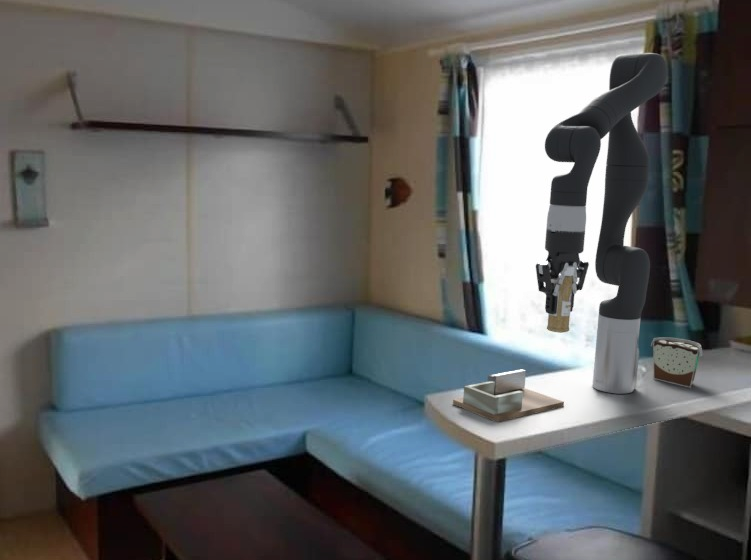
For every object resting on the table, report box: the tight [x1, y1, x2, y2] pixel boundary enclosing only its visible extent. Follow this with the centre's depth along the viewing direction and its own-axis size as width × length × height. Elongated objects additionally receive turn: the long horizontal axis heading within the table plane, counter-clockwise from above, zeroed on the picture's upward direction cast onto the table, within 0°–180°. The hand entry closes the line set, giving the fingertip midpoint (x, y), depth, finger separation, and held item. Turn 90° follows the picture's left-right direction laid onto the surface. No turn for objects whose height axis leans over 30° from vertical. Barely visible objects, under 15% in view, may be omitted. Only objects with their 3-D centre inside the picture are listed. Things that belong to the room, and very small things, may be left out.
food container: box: [650, 336, 703, 389], centre depth 191 cm, size 12×6×10 cm, turn 44°
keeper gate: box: [486, 369, 527, 395], centre depth 173 cm, size 11×2×4 cm, turn 127°
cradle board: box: [452, 381, 565, 423], centre depth 167 cm, size 20×13×4 cm, turn 127°
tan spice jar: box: [546, 266, 574, 333], centre depth 159 cm, size 5×5×13 cm
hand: (558, 312), depth 159 cm, fingers closed on tan spice jar, 4 cm apart
